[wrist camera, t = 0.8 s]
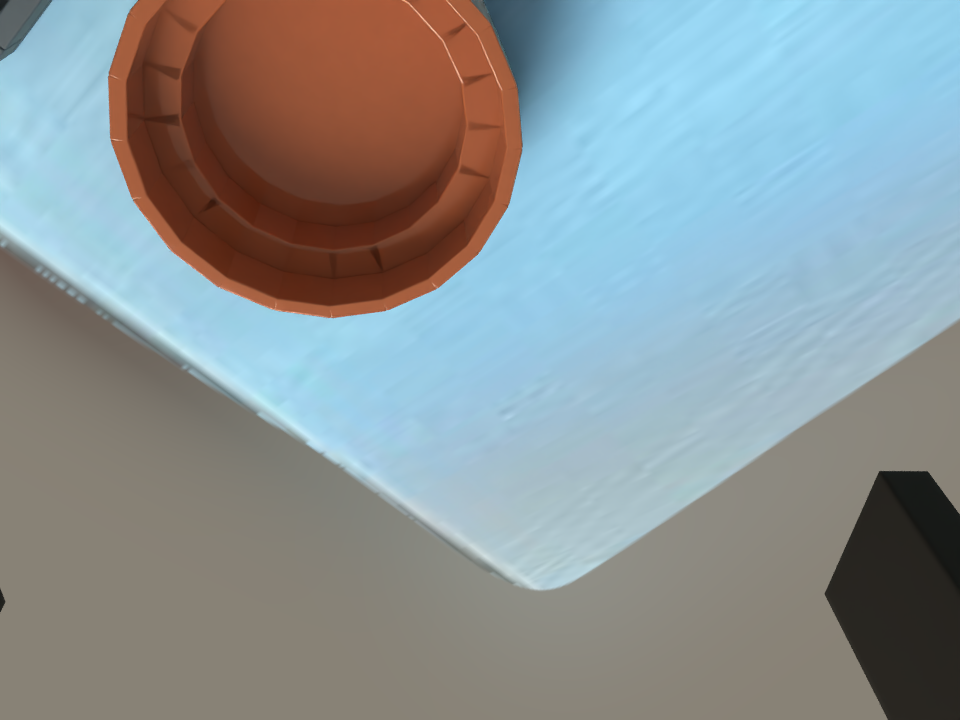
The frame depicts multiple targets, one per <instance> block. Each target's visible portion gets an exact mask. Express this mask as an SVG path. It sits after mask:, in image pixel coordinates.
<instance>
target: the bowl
mask: <svg viewBox="0 0 960 720" xmlns="http://www.w3.org/2000/svg"><path fill="white" fill-rule="evenodd" d="M108 87H109V117H110V138H111V143H112V146H113V148H114V151H115V154H116V156H117V159H118V162H119V164H120V167H121V170H122V173H123V175H124V178H125V181H126V183H127V186H128V189H129V192H130V194H131V197H132V199H133V201H134V203H135V204H136V205H137V207H138V208H139V209H140V211H141V212H142V213H143V215H144V216H145V217H146V219H147V220H148V221H149V223H150V224H151V225H152V227H153V228H154V229H155V231H156V232H157V233H158V235H159V236H160V237H161V239H162V240H163V241H164V243H165V244H166V245H167V247H168V248H169V249H170V250H171V251H172V252H173V253H174V254H176V255H177V256H178V257H180V258H181V259H182V260H183V261H185V262H186V263H187V264H189V265H190V266H191V267H193V268H194V269H195V270H196V271H198V272H199V273H200V274H202V275H203V276H204V277H206V278H207V279H208V280H209V281H211V282H212V283H213V284H215V285H216V286H217V287H220V288H221V289H224V290H226V291H229V292H231V293H234V294H236V295H238V296H241V297H243V298H246V299H248V300H250V301H253V302H255V303H258V304H260V305H262V306H265V307H267V308H270V309H272V310H276V311H283V312H290V313H297V314H305V315H312V316H319V317H327V318H336V317H344V316H351V315H359V314H367V313H374V312H382V311H386V310H390V309H392V308H394V307H397V306H399V305H401V304H403V303H406V302H408V301H410V300H413V299H415V298H417V297H420V296H422V295H424V294H427V293H429V292H431V291H433V290H436V289H437V288H439V287H440V286H441V285H442V284H444V283H445V282H446V281H447V280H448V279H450V278H451V277H452V276H453V275H454V274H455V273H457V272H458V271H459V270H460V269H461V268H462V267H464V266H465V265H466V264H467V263H468V262H470V261H471V260H472V259H473V258H474V257H475V256H477V255H478V253H479V252H480V251H481V250H482V248H483V246H484V245H485V243H486V241H487V240H488V238H489V237H490V235H491V233H492V232H493V230H494V229H495V227H496V225H497V224H498V222H499V221H500V219H501V217H502V216H503V214H504V213H505V211H506V209H507V208H508V205H509V203H510V199H511V195H512V191H513V187H514V183H515V179H516V175H517V170H518V166H519V162H520V158H521V154H522V147H523V144H522V132H521V120H520V108H519V96H518V87H517V83H516V80H515V77H514V75H513V72H512V69H511V66H510V64H509V61H508V58H507V55H506V53H505V50H504V47H503V45H502V43H501V40H500V38H499V36H498V33H497V31H496V29H495V26H494V24H493V21H492V19H491V17H490V14H489V12H488V10H487V7H486V5H485V2H484V0H138V1H137V2H136V4H135V5H134V6H133V7H132V8H131V10H130V11H129V13H128V15H127V18H126V22H125V25H124V28H123V31H122V34H121V37H120V40H119V43H118V46H117V49H116V52H115V55H114V58H113V61H112V64H111V67H110V70H109V76H108Z"/></svg>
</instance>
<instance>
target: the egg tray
mask: <svg viewBox="0 0 960 720" xmlns="http://www.w3.org/2000/svg"><path fill="white" fill-rule="evenodd" d="M51 2H52V0H0V61H1V60H2V59H4V58H5V57H7V56H8V55H10V54H11V53H13V52H14V51H15V50H16V48H17V47H18V46H19V44H20V43H21V42H22V40H23V39H24V38H25V36H26V35H27V34H28V32H29V31H30V30H31V28H32V27H33V26H34V24H35V23H36V22H37V20H38V19H39V18H40V16H41V15H42V14H43V12H44V11H45V10H46V8H47V7H48V6H49V4H50V3H51Z"/></svg>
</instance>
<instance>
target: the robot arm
mask: <svg viewBox="0 0 960 720" xmlns="http://www.w3.org/2000/svg"><path fill="white" fill-rule="evenodd" d="M825 596H826V598H827V600H828V602H829V604H830V606H831V608H832V610H833V612H834V613H835V616H836V617H837V620H838V622H839V623H840V626H841V627H842V629H843V631H844V633H845V635H846V637H847V639H848V641H849V643H850V645H851V647H852V649H853V651H854V653H855V655H856V657H857V659H858V661H859V663H860V665H861V667H862V669H863V671H864V673H865V675H866V677H867V679H868V681H869V683H870V685H871V687H872V689H873V691H874V693H875V695H876V697H877V699H878V701H879V702H880V704H881V707H882V709H883V710H884V712H885V714H886V716H887V718H888V720H960V514H959V513H958V512H957V510H956V509H955V508H954V506H953V505H952V503H951V502H950V501H949V500H948V498H947V497H946V495H945V494H944V493H943V491H942V490H941V489H940V487H939V486H938V485H937V483H936V482H935V481H934V479H933V478H932V476H931V475H930V474H929V473H928V472H927V471H922V472H921V471H879V473H878V476H877V478H876V480H875V482H874V485H873V487H872V489H871V491H870V493H869V496H868V498H867V500H866V502H865V505H864V507H863V509H862V512H861V514H860V516H859V518H858V520H857V523H856V525H855V527H854V529H853V532H852V534H851V536H850V538H849V541H848V543H847V545H846V547H845V549H844V552H843V554H842V556H841V558H840V561H839V563H838V565H837V567H836V570H835V572H834V574H833V576H832V579H831V581H830V583H829V585H828V588H827V590H826V592H825ZM4 604H5V600H4V597H3V594H2V592H1V590H0V612H1V610H2V608H3V606H4Z"/></svg>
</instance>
